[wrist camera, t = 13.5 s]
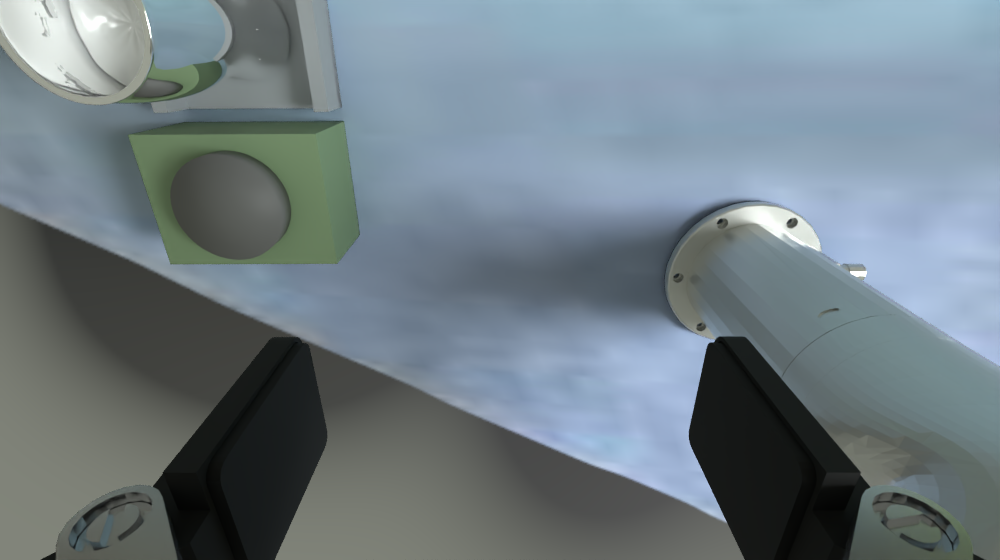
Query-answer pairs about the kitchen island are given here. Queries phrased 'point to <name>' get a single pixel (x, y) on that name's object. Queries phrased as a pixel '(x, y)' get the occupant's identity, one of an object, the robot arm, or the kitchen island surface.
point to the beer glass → (142, 46)
